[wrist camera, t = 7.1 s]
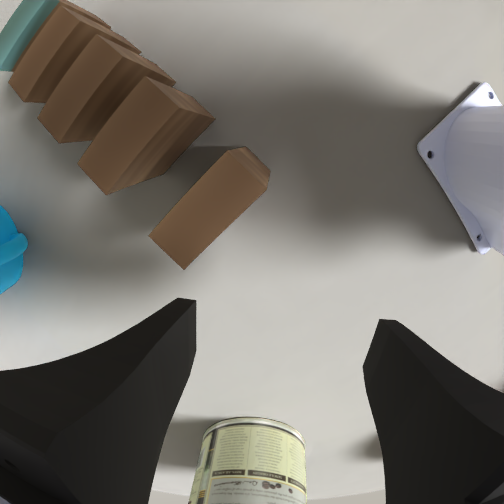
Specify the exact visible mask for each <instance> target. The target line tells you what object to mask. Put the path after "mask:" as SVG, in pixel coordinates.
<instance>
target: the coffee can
mask: <svg viewBox="0 0 504 504" xmlns="http://www.w3.org/2000/svg"><path fill="white" fill-rule="evenodd" d="M188 504H307V491H306V465H305V441H304V439H303V437H302V435H301V434H300V433H299V432H298V431H296V430H295V429H294V428H292V427H290V426H288V425H286V424H284V423H281V422H277V421H274V420H270V419H264V418H251V417H247V418H235V419H228V420H224V421H221V422H219V423H216V424H214V425H213V426H211V427H210V428H208V429H207V431H206V432H205V434H204V436H203V440H202V447H201V451H200V456H199V460H198V464H197V468H196V472H195V477H194V481H193V485H192V490H191V494H190V498H189V503H188Z"/></svg>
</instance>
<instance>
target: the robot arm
mask: <svg viewBox="0 0 504 504" xmlns="http://www.w3.org/2000/svg"><path fill="white" fill-rule="evenodd" d="M488 93H489V94H490V98H489V96H488ZM417 150H418V152H419V154H420V155H421V157H422V158H423V160H424V161H425V163H426V164H427V166H428V167H429V169H430V170H431V172H432V173H433V175H434V176H435V178H436V179H437V181H438V182H439V184H440V185H441V187H442V189H443V190H444V192H445V193H446V195H447V197H448V198H449V200H450V202H451V203H452V205H453V207H454V208H455V210H456V212H457V214H458V215H459V217H460V219H461V221H462V223H463V224H464V226H465V228H466V230H467V232H468V234H469V236H470V238H471V239H472V241H473V243H474V245H475V247H476V249H477V251H478V252H479V253H480V254H485V253H486V252H487V251H488V250H489V249H490V248H491V247H492V248H493V249H495V250H496V251H498V252H499V253H501V254H502V255H504V105H501V103H500V101H499V100H498V98H497V96H496V95H495V93H494V91H493V90H492V88H491V86H490V85H489V84H488V83H486V82H483V83H480V84H479V85H478V86H477V87H476V88H475V89H474V90H473V91H472V92H471V93H470V94H469V95H468V96H467V97H466V98H465V99H464V100H463V101H462V102H461V103H460V104H459V105H458V106H457V107H456V108H455V109H454V110H452V111H451V112H450V113H449V114H448V115H447V116H446V117H445V118H444V119H443V120H442V121H441V122H440V123H439V124H438V125H437V126H436V127H434V128H433V129H432V130H431V131H430V132H429V133H428V134H427V135H426V136H425V137H424V138H423V139H422V140H421V141H420V142H419V143H418V145H417ZM429 151H430V152H431V154H432V156H431V158H428V156H427V153H428V152H429ZM478 235H479V238H478V239H477V236H478ZM195 354H196V300H190V299H183V298H177V299H175V300H173V301H172V302H170V303H169V304H167V305H166V306H164V307H163V308H161V309H160V310H158V311H157V312H155V313H154V314H152V315H151V316H149V317H148V318H146V319H145V320H143V321H142V322H140V323H138V324H137V325H135V326H133V327H131V328H130V329H128V330H126V331H124V332H123V333H121V334H119V335H117V336H116V337H114V338H112V339H110V340H108V341H106V342H104V343H102V344H99V345H97V346H95V347H92V348H90V349H88V350H85V351H83V352H80V353H77V354H74V355H71V356H68V357H65V358H62V359H59V360H56V361H52V362H49V363H44V364H40V365H36V366H31V367H26V368H20V369H13V370H4V371H0V504H148V501H149V496H150V492H151V487H152V483H153V479H154V475H155V471H156V466H157V462H158V459H159V455H160V451H161V448H162V444H163V441H164V437H165V434H166V432H167V429H168V426H169V424H170V421H171V419H172V417H173V414H174V412H175V409H176V407H177V405H178V402H179V400H180V398H181V395H182V393H183V390H184V388H185V386H186V383H187V381H188V378H189V376H190V372H191V369H192V365H193V361H194V357H195ZM363 373H364V381H365V387H366V393H367V396H368V400H369V404H370V407H371V411H372V415H373V418H374V422H375V425H376V429H377V433H378V437H379V440H380V445H381V450H382V455H383V464H384V474H385V490H386V504H504V393H502V392H499V391H497V390H495V389H493V388H491V387H489V386H488V385H486V384H484V383H482V382H481V381H479V380H477V379H476V378H474V377H472V376H471V375H469V374H468V373H466V372H464V371H463V370H461V369H460V368H459V367H457V366H456V365H454V364H453V363H452V362H450V361H449V360H448V359H446V358H445V357H444V356H442V355H441V354H440V353H438V352H437V351H436V350H434V349H433V348H432V347H431V346H429V345H428V344H427V343H426V342H424V341H423V340H422V339H421V338H419V337H418V336H417V335H416V334H414V333H413V332H412V331H411V330H409V329H408V328H407V327H405V326H404V325H402V324H401V323H399V322H398V321H396V320H386V319H379V322H378V325H377V328H376V331H375V334H374V337H373V339H372V342H371V345H370V348H369V351H368V354H367V356H366V359H365V362H364V364H363Z"/></svg>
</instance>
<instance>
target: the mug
mask: <svg viewBox="0 0 504 504" xmlns="http://www.w3.org/2000/svg"><path fill="white" fill-rule="evenodd" d="M27 247H28V241H27V238H26V237H25V235H24V234H22V233H18V231H17V229H16V226H15V224H14V222H13V221H12V219H11V217H10V216H9V214H8V212H7V211H6V210H5V209H4V208H3V207H2V206H1V205H0V294H1V293H3V292H4V291H6V290H7V289H8V288H10V287H11V286H13V285H14V284H15V283H16V282H17V281H18V280H19V278H20V277H21V274H22V269H23V252H24V251H25V250H26V249H27Z"/></svg>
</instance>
